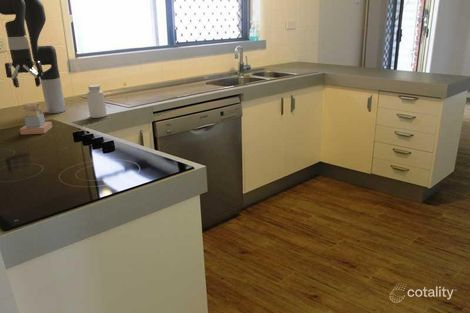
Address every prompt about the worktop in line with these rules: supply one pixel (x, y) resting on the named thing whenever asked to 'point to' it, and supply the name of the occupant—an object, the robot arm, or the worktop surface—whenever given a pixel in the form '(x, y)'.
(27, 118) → the blue block
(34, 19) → the robot arm
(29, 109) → the oak block
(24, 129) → the tile base
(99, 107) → the pill bottle
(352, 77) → the worktop surface
